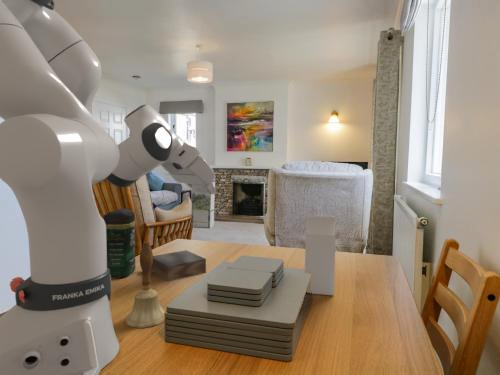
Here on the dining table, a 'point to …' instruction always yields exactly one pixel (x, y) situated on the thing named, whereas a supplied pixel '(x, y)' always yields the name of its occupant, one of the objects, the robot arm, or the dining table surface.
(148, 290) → the hand bell
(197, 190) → the syrup box
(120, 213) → the coffee jar
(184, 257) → the podium
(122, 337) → the dining table surface
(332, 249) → the milk carton
